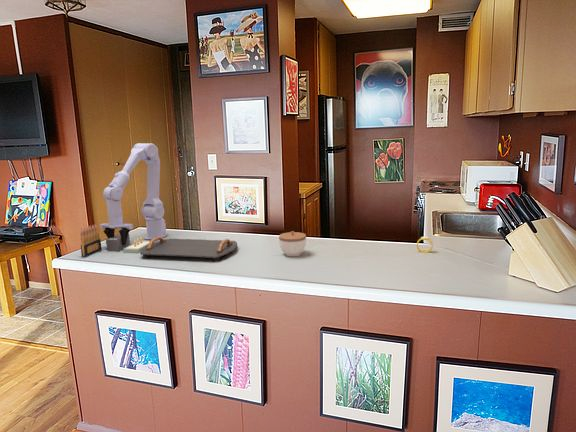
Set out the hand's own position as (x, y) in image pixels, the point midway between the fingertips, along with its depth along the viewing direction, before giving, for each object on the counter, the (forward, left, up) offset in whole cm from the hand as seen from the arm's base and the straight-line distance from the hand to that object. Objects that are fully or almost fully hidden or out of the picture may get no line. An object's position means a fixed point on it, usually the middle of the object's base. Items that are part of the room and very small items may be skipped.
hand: (118, 244), depth 198 cm
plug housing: (0, 0, -1) cm, 1 cm away
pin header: (0, +10, -1) cm, 10 cm away
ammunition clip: (+9, -7, -2) cm, 12 cm away
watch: (-6, +129, -2) cm, 129 cm away
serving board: (+3, +35, -2) cm, 35 cm away
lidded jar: (+2, +78, -2) cm, 78 cm away
